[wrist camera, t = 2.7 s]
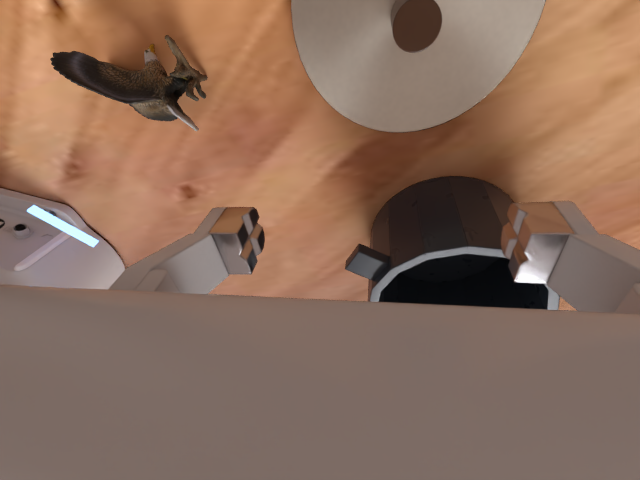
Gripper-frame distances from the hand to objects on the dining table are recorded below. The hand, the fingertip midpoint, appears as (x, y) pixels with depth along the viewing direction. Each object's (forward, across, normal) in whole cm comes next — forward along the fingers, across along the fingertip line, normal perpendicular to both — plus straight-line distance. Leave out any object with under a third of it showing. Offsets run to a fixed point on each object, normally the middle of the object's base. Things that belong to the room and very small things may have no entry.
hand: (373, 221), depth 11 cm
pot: (+19, -6, +16) cm, 26 cm away
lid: (+18, -2, -4) cm, 18 cm away
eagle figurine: (+18, +18, -2) cm, 26 cm away
